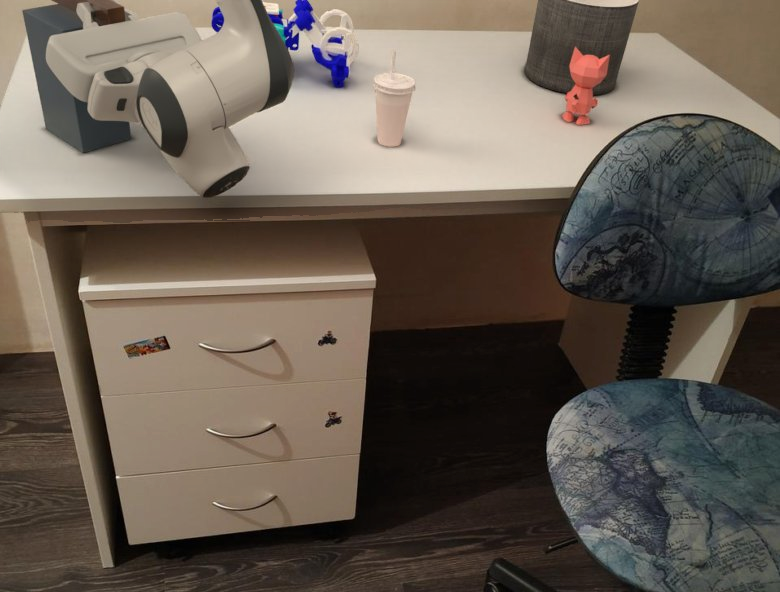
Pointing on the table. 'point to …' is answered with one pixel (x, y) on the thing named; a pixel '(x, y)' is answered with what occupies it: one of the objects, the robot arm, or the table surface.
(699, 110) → the table surface
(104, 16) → the brown wooden bar
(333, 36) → the robot toy
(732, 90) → the table surface
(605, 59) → the cat figurine
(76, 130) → the stand
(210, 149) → the robot arm
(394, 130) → the smoothie
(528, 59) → the planter
